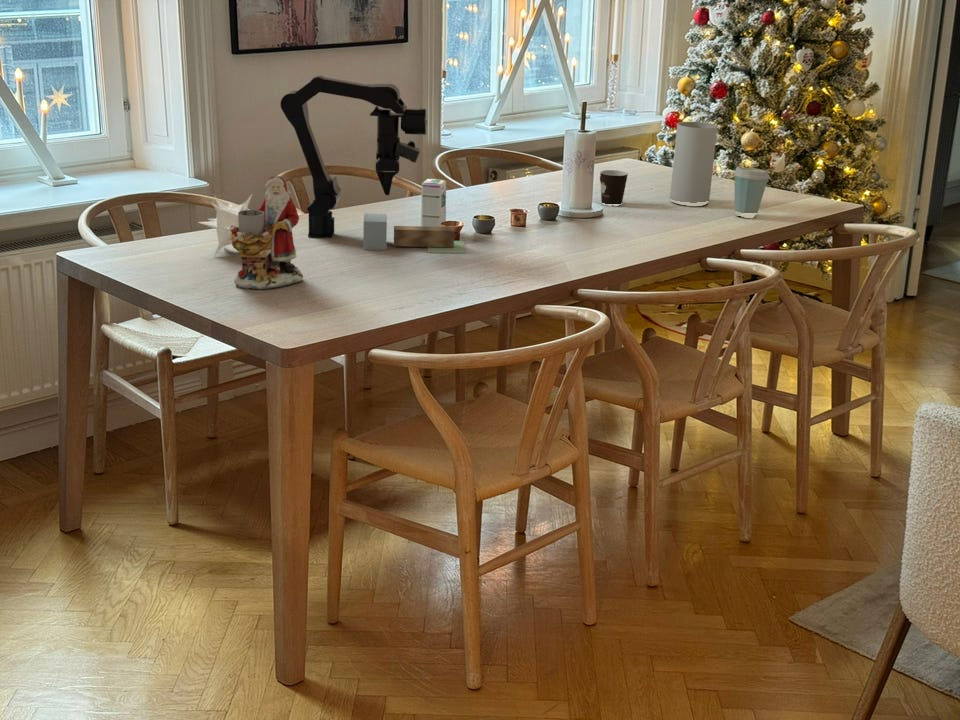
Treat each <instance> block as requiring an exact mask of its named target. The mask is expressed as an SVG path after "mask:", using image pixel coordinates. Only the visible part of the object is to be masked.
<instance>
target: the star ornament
mask: <svg viewBox="0 0 960 720" xmlns="http://www.w3.org/2000/svg"><path fill="white" fill-rule="evenodd" d="M252 196H253V194H250V196H249V197H248V198H247V199H246V201H244V202H243V203H242V204H237V205H233V206H231V207H228V206H227V205H226V204H224V202H223V201H221V200H220V199H219V198H218V197H216V196H215V195H214V196H213V198H214V199H215V201H216V202H217V205H216V204H214V203H213V202H210V203H211V205H212V207H213V208H214V209H215V211H216V218H207V220H208V221H198V222H197V223H198V224H201V225H205V226H207V227H209V228H213V229H215V230H216V235H217V236H216V237H217V241H218V242H217V243H218V246H217V247H216V251H215V253H214V256H213V257H215V256H216V255H217V254H218V253H219V252H220V250H221V249H223V247H226V246H229V245H232V240H231V238H230V235H231V233H232V232H231V226H233V227H239V226H238V212H240V211H243V210H249V203H250V201H251V198H252Z"/></svg>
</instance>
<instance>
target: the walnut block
mask: <svg viewBox="0 0 960 720" xmlns="http://www.w3.org/2000/svg"><path fill="white" fill-rule="evenodd" d="M454 241H455V226H445V227H424V226H417V225H415V226H414V225H411V226H410V225H393V247H419V248H420V247H421V248H424V247H426V248H428V247H454Z"/></svg>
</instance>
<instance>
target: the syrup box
mask: <svg viewBox="0 0 960 720" xmlns="http://www.w3.org/2000/svg"><path fill="white" fill-rule="evenodd" d="M446 205H447V180H446V179H439V178H426V180H424V181H422V183H421V213H420V214H421V222H420V223H421V226H424V227H442V226H441V223H442V222H444V221H447V220H446V213H447V211H446V210H447V209H446V207H447V206H446Z"/></svg>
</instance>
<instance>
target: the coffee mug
mask: <svg viewBox="0 0 960 720" xmlns="http://www.w3.org/2000/svg"><path fill="white" fill-rule="evenodd" d="M628 175H629V174H628V172H627V171H623V170H615V169H614V170H612V169H605V170H602V171H600V175H599V182H600V196H601V197H600V200H601V202H602V203H605V204H621V203H622V204H623V200H624V197H625V189H626V184H627V181H628ZM601 202H600V203H601Z"/></svg>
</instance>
